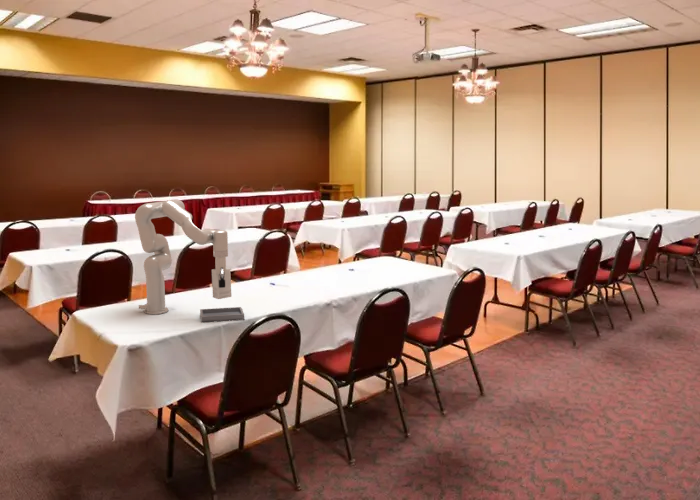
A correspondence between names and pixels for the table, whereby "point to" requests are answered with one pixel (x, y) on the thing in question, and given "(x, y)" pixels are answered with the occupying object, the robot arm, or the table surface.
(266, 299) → the table surface
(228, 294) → the skincare box
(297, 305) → the table surface
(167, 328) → the table surface
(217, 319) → the tray
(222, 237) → the robot arm
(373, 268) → the table surface
